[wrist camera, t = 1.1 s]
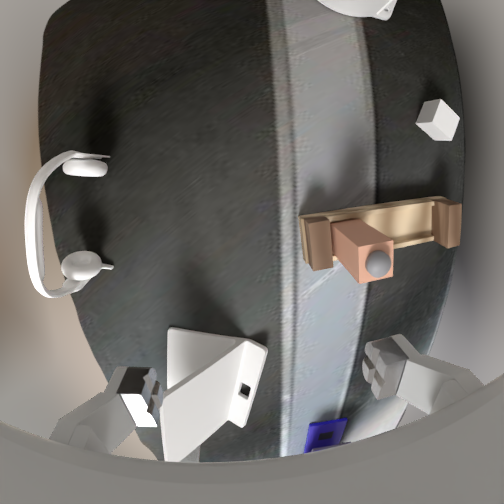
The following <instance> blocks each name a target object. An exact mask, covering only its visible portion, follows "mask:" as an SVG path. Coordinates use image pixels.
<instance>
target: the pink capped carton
mask: <svg viewBox="0 0 504 504" xmlns="http://www.w3.org/2000/svg"><path fill="white" fill-rule="evenodd" d="M330 230H331V242H332V253H333V254H334V255H335V256H336V257H337V259H338V260H339V261H340V262H341V263H342V264H343V266H344V267H345V268H346V269H347V270H348V271H349V273H350V274H351V275H352V276H353V277H354V279H355V280H356V281H357V282H358V283H359V284H361V283H366V282H370V281H375V280H379V279H383V278H387V277H391V276H393V240H392V239H390V238H389V237H387V236H386V235H384V234H383V233H381V232H379V231H378V230H376V229H375V228H373V227H371V226H370V225H368V224H367V223H365V222H363V221H362V220H360V219H358V218H357V219H351V220H345V221H339V222H333V223H330Z"/></svg>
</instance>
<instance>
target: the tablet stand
mask: <svg viewBox="0 0 504 504" xmlns="http://www.w3.org/2000/svg"><path fill="white" fill-rule="evenodd" d="M267 352H268V349H267V348H266V347H265V346H263V345H261V344H259V343H257V342H255V341H253V340H251V339H246V338H238V337H231V336H224V335H217V334H210V333H204V332H198V331H192V330H186V329H181V328H175V327H170V328H169V329H168V341H167V387H168V390H166V391H164V392H163V404H162V406H161V407H160V420H161V431H162V441H163V449H164V457H165V461H170V462H180V461H181V460H182V459H183V458H185V457H186V456H187V455H188V454H189V453H191V452H192V451H193V450H194V449H195V448H197V447H198V446H199V445H200V444H201V443H203V442H204V441H205V440H206V439H207V438H208V437H209V436H211V435H212V434H213V433H214V432H215V431H216V430H217V429H218V428H220V427H221V426H222V425H223V424H224V423H225V422H226V421H227V420H230V421H231V422H233V423H235V424H236V425H238V426H239V427H242V428H243V427H244V426H245V425H246V422H247V419H248V416H249V413H250V409H251V406H252V403H253V400H254V396H255V393H256V390H257V387H258V383H259V380H260V376H261V373H262V370H263V366H264V363H265V359H266V356H267ZM242 383H244V384H246V385H248V386H249V387H250V388H251V390H250V394H249V397H247V396H246V395H244V394H242V393H241V392H240V390H241V386H242Z"/></svg>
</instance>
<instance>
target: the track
mask: <svg viewBox="0 0 504 504" xmlns="http://www.w3.org/2000/svg"><path fill="white" fill-rule="evenodd" d="M461 207H462V204H460V203H457V202H454V201H451V200H448V199H446V198H445V197H442V196H433V197H425V198H418V199H410V200H402V201H395V202H388V203H380V204H373V205H366V206H359V207H353V208H346V209H339V210H333V211H326V212H320V213H314V214H308V215H301V216H298V218H299V226H300V234H301V242H302V250H303V259H304V261H305V263H306V264H308V263H309V265H310V266H311V268H312V270H313V271H317V270H322V269H327V268H332V267H333V261H335V260H338V259H337V257H336V256H335V255H334V254H333V253H332V242H331V230H330V223H333V222H339V221H345V220H351V219H357V218H358V219H360V220H362V221H363V222H365V223H367V224H368V225H370V226H371V227H373V228H375V229H376V230H378V231H379V232H381V233H383V234H384V235H386V236H387V237H389V238H390V239H392V240H393V249H395V248H400V247H405V246H409V245H414V244H419V243H423V242H428V241H433V240H434V241H436V242H437V243H439V244H441V245H443V246H445V247H446V248H451V247H454V246H458V245H460V232H461Z"/></svg>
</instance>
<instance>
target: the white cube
mask: <svg viewBox="0 0 504 504" xmlns="http://www.w3.org/2000/svg"><path fill="white" fill-rule="evenodd" d="M459 119H460V118H459V117H458V115H457V114H456V113H455V112H454V111H453V110H452V109H451V108H450V107H449V106H448V105H447V104H446V103H445V102H444V101H443V100H442V99H437V100H432V101H426V102H424V104H423V107H422V109H421V111H420V114H419V116H418V119H417V121H416V124H417V125H418V126H419V127H420V128H421V129H423V130H424V131H425V132H426V133H427V134H428V135H429V136H430V137H432V138H433V139H434V140H445V141H452V138H453V136H454V133H455V130H456V127H457V125H458V122H459Z"/></svg>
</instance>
